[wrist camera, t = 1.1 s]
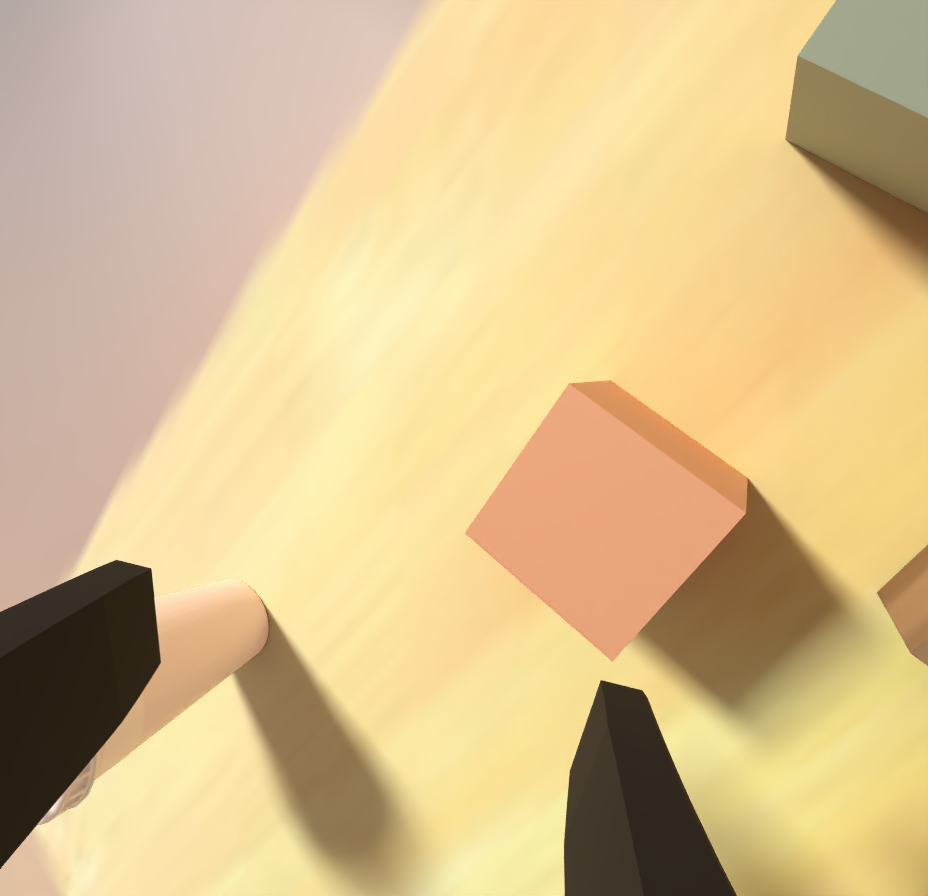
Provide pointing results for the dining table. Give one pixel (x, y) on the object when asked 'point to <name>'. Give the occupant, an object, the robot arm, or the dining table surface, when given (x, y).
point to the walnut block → (910, 604)
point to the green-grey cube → (867, 95)
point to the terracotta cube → (608, 512)
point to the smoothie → (181, 668)
